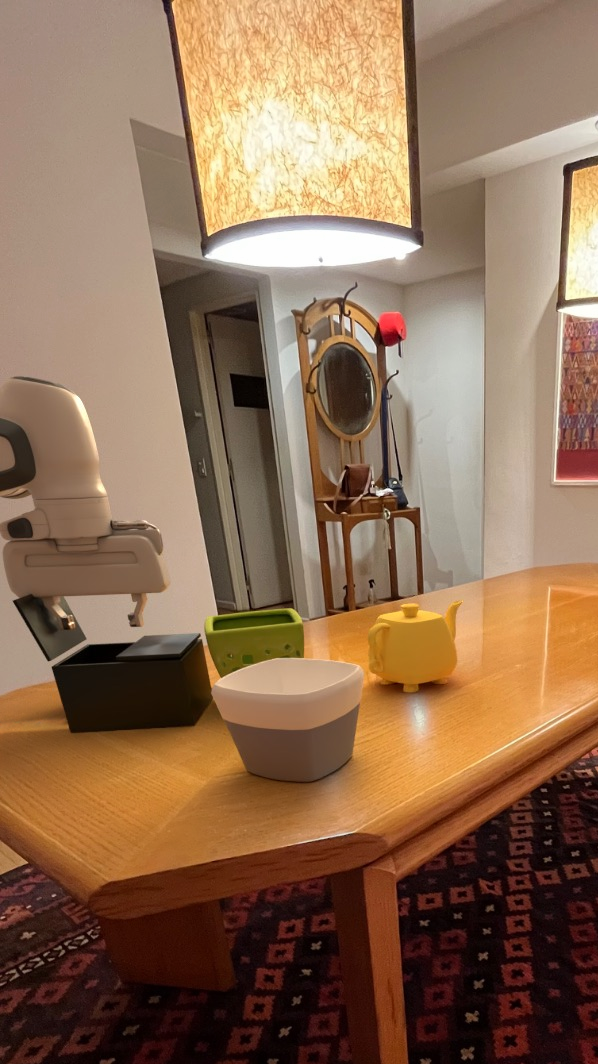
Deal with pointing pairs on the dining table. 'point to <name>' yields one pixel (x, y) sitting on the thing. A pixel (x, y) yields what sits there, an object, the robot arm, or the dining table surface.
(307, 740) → the bowl
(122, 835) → the dining table surface
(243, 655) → the flower pot
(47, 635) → the flap
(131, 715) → the black lidded box
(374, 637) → the teapot
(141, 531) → the robot arm
